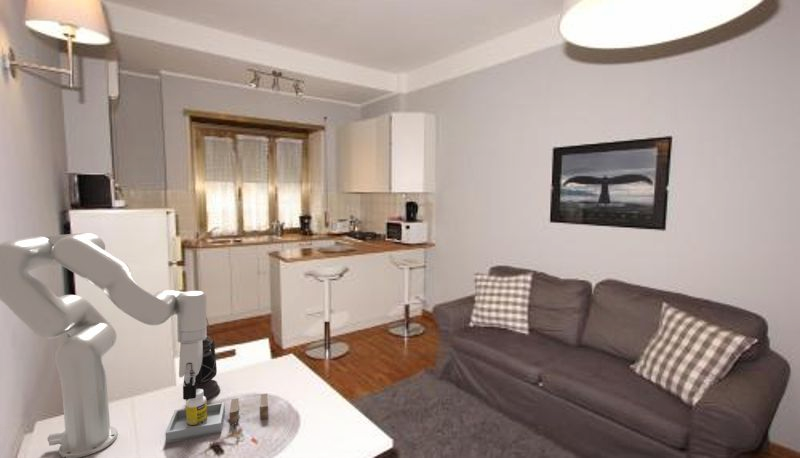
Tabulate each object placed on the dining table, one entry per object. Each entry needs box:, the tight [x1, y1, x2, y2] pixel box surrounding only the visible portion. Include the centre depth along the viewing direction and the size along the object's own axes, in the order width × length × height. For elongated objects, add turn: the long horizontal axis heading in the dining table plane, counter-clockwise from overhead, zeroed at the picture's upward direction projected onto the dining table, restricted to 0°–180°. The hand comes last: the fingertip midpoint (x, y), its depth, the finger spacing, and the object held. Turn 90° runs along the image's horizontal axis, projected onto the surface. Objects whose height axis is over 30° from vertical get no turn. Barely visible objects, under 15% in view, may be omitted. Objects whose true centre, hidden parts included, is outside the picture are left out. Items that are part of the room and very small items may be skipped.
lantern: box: [186, 316, 221, 401], centre depth 131 cm, size 12×11×30 cm
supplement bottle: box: [185, 389, 208, 427], centre depth 114 cm, size 5×5×10 cm
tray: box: [164, 401, 226, 444], centre depth 114 cm, size 14×12×3 cm
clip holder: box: [228, 393, 269, 426], centre depth 120 cm, size 11×8×4 cm
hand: (192, 390), depth 113 cm, fingers open, 9 cm apart
